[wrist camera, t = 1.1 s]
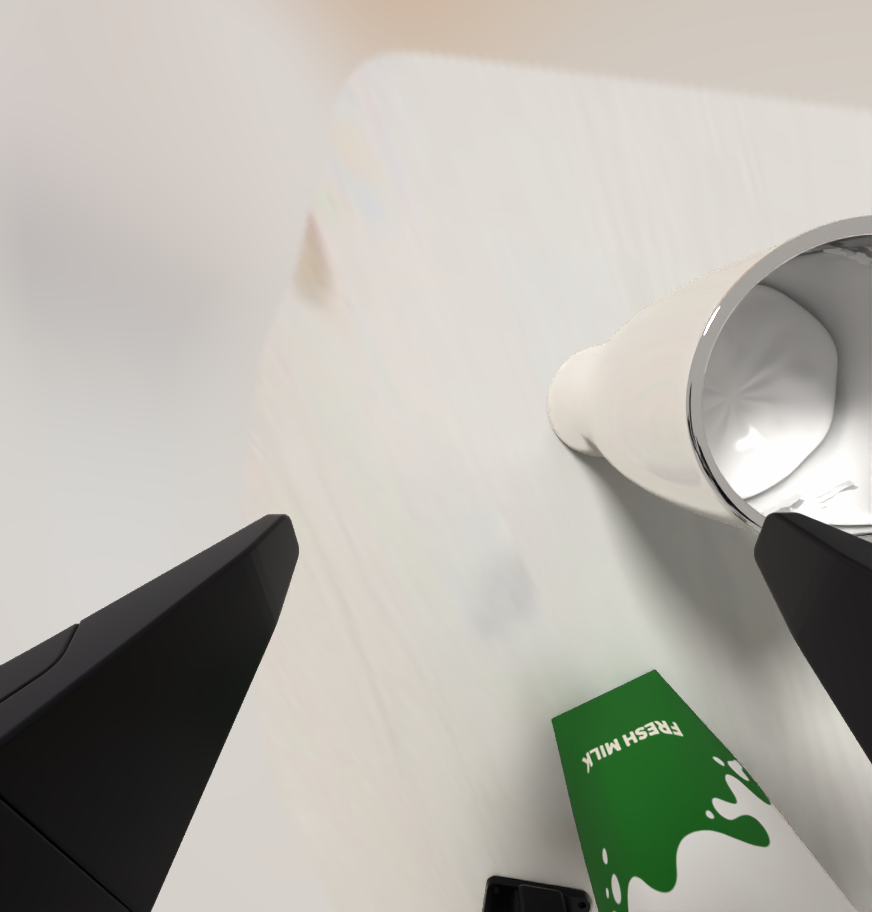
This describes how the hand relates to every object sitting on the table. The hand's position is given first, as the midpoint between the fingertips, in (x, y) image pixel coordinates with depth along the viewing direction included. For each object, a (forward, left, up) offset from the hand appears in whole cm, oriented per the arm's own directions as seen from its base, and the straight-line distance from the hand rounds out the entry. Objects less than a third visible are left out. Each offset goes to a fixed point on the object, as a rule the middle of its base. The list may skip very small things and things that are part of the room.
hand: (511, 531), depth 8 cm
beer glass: (+3, -6, -16) cm, 18 cm away
